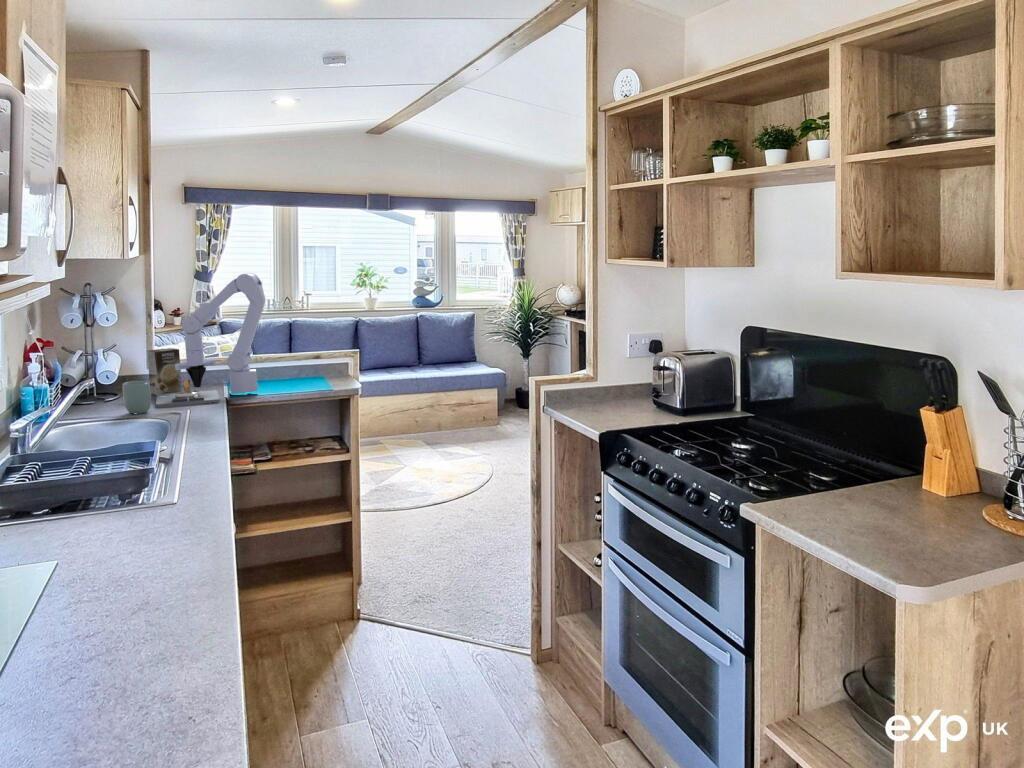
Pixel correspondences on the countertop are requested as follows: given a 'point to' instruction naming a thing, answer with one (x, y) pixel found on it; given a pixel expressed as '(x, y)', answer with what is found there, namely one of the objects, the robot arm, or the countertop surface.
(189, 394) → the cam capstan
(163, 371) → the coffee box
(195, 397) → the gray mechanism base plate
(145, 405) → the cup
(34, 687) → the countertop surface
